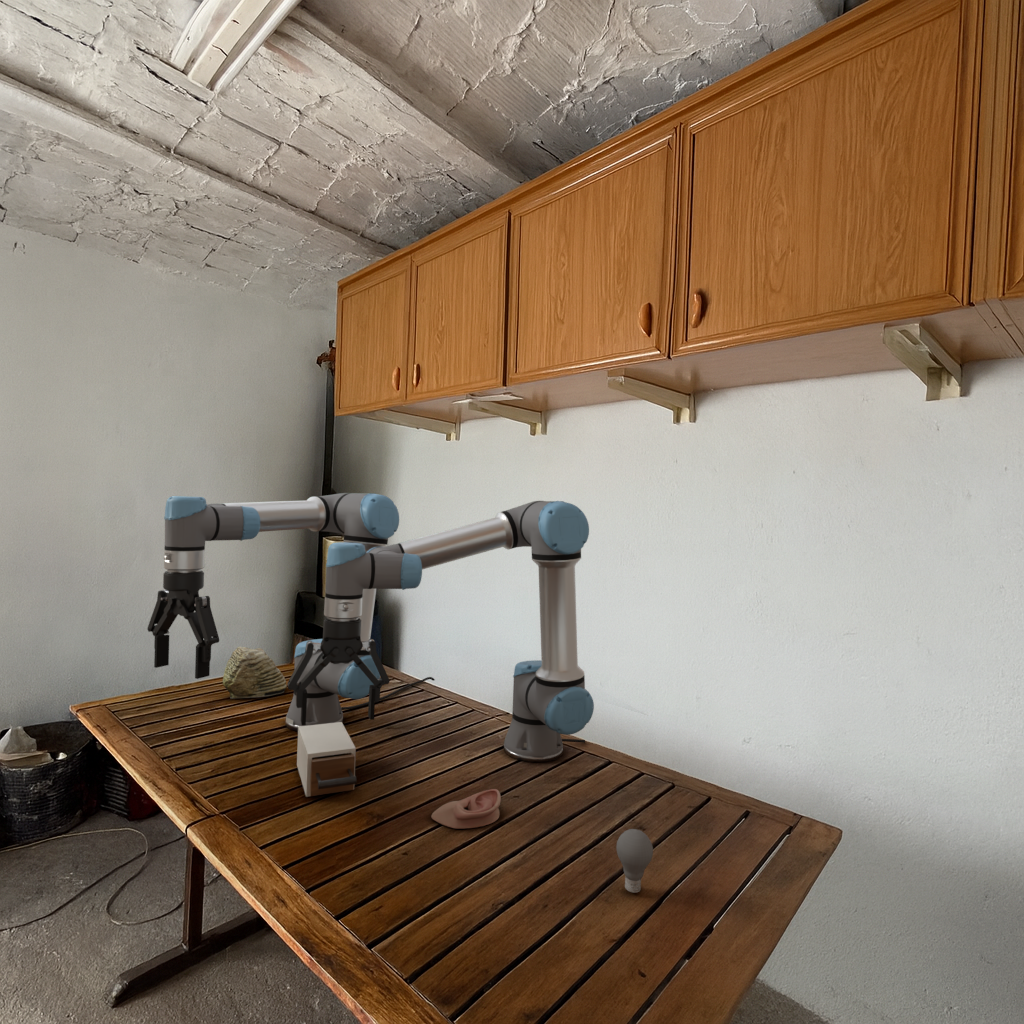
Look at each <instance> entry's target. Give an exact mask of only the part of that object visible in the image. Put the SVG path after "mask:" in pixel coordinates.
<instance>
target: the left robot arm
mask: <svg viewBox="0 0 1024 1024" xmlns="http://www.w3.org/2000/svg"><path fill="white" fill-rule="evenodd" d="M394 502H395V501H393V499H391V498H390V497H388V496H386V495H384V494H378V493H371V492H369V493H365V492H364V493H362V492H361V493H360V492H341V493H340V492H339V493H334V494H328V495H327V494H326V495H318V496H309V498H307V499H306V500H281V501H278V500H277V501H250V502H249V501H248V502H247V501H246V502H222V503H207V499H206V498H205V497H203V496H189V495H188V496H186V495H172V496H169V497H168V498H167V499H166V502H165V509H164V517H163V519H164V554H163V568H164V569H165V570H166V571H164V572H163V574H162V575H163V576H162V577H163V583H162V587H163V589H161V590H158V591H157V597H156V598H157V599H156V603H155V605H154V608H153V612H152V614H151V616H150V620H149V623H148V625H147V632H149V633H152V636H153V637H154V646H153V648H154V659H153V661H154V662H153V663H154V665H153V667H154V668H155V669H157V668H161V667H167V666H169V660H170V634H169V633H170V632H169V630H170V628H171V627H172V625H173V623H174V622H175V620H176V619H177V617H178V615H179V616H180V617H183V618H184V619H185V620H187V622H188V624H189V626H190V628H191V631H192V633H193V635H194V637H195V639H196V641H197V644H196V645H195V665H194V679H195V680H196V679H197V680H199V679H203V678H206V677H210V673H211V672H210V670H211V669H210V667H211V660H212V646H213V645H215V644H218V643H219V642H220V637H219V633H218V629H217V626H216V622H215V619H214V615H213V611H212V608H211V597H210V596H209V595H203V596H200V593H199V591H200V590H202V589H203V588H204V587H205V572H204V571H203V569H204V568H205V565H206V563H205V562H206V560H205V558H206V557H205V556H206V542H213V541H214V542H215V541H239V542H240V541H241V542H242V541H246V540H253V539H254V538H256V537H257V536H258V534H259V533H263V532H279V531H291V530H306V529H307V530H310V531H311V532H329V533H336V534H342V535H343V542H349V543H361V544H363V545H364V546H365V551H366V552H367V551H368V550H370V549H371V548H374V547H379V546H380V547H386V546H388V542H389V539H390V538H391V537H394V535H395V533H396V532H397V531H398V529H399V525H400V513H399V509H398V508H397V505H396V504H395V503H394ZM376 594H377V589H363V597H362V615H361V616H360V617H359V618H360V620H361V642H363V641H368V640H369V639H371V635H372V628H373V619H374V618H373V617H374V610H375V602H376V596H377V595H376ZM322 640H323V638H317V639H316V638H315V639H308V640H304V641H300V642H299V643H298V644H297V645H296V646H295V650H294V651H295V652H294V655H293V658H294V670H295V669H296V667H297V665H298V663H299V662H300V660H301V658H302V656H303V654H304V653H305V649H306V643H307V642H308V641H312V642H313V643H321V642H322ZM323 655H324V653H323V652H322V651H321V649H318V650H317V651H316V653H314V654H312V657H311V659H310V661H309V662H308V664H307V666H306V668H305V669H304V671H303V673H302V675H301V677H300V678H299V680H298V682H297V683H299V682H300V681H301V680H302V679H303V678H304V677H305V675H306V674H307V673H308V672H309V671H310V670H311V669H312V668H313V667H314V665H315V664H316V663H317V662H318V661H319V659H320V658H321V657H322V656H323ZM357 655H358V656H359V657H360V659H361V660H362V661H363V662H364V663H365V665H366V666H367V667H368V668H369V669H370V671H371V672H372V673H373V674H374V675H375V676H376V678H377V679H379V678H381V676H380V674H379V672H378V670H377V668H376V665H375V663H374V661H373V659H372V657H371V655H370V652H369V651H366V649H365V648H364V647H362V649H361V650H360V652H359V653H358V654H357ZM294 670H293V671H294ZM428 680H431V681H436V679H435V678H434V677H432V676H428V677H425V678H422V679H421V680H417V681H414V682H412V683H409V684H407V685H405V686H403V687H401V688H399V689H397V690H394V691H392V692H390V693H388V694H386V695H383V696H380V700H379V702H380V701H383V700H385V699H387V698H390V697H392V696H394V695H396V694H397V693H399V692H402V691H404V690H406V689H407V688H410V687H412V686H415V685H419V684H421V683H423V682H426V681H428ZM370 685H374V684H373V683H372V682H371V681H370V679H369V678H368V677H367V676H366V675H365V674H364V672H363V671H362V670H361V669H360V668H359V666H358V665H357V664H356V663H355V662H354V661H351V662H349V663H348V664H345V663H339V664H333V663H331V662H330V663H329V664H328V665H327V666H326V667H324V668H323V669H322V671H321V672H320V673H319V674H318V675H317V676H316V677H315V678H314V680H313V681H312V682H311V683H310V684H309V685H308V686H307V687H306V690H307V708H306V725H302V724H301V708H297V706H296V691H294V690H293V695H292V696H293V697H292V699H291V702H290V704H289V708H288V711H287V713H286V715H285V726H286V728H287V729H289V730H291V731H294V732H295V731H296V732H298V727H299V726H308V725H318V724H327V723H336V722H342V723H343V722H344V714H343V711H345V710H346V711H347V710H353V709H354V710H355V709H357V708H361V707H365V706H369V701H366V702H363V703H359V704H356V705H351V706H341V702H340V699H339V696H340V697H342V698H345V699H351V700H360V699H364V698H366V697H367V696H369V687H370Z"/></svg>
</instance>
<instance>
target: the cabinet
mask: <svg viewBox="0 0 1024 1024" xmlns="http://www.w3.org/2000/svg"><path fill="white" fill-rule="evenodd" d="M296 751H297V752H296V766H297V771H298V774H299V777H300V780H301V781H300V782H301V784H302V789H303V791H304V795H305V797H306V798H308V797H311V796H310V775H311V760H312V758H314V757H322V756H329V755H337V754H345V753H348V755H352V754H354V756H355V757H356V754H357V753H356V752H357V748H356V745H355V744H354V742H353V740H352V738H351V736H350V735H349V733H348V731H347V729H346V727H345V725H344V724H343V722H336V723H327V724H318V725H308V726H299V727H298V731H297V750H296ZM354 776H356V760H355V761H354ZM352 791H355V785H354V786H353V790H352ZM341 792H343V791H341ZM341 792H340V793H341ZM328 794H330V793H328ZM328 794H327V795H328ZM322 795H323V794H321V795H320V796H322ZM315 796H317V795H315ZM315 796H314V797H315Z"/></svg>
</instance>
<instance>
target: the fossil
mask: <svg viewBox="0 0 1024 1024" xmlns="http://www.w3.org/2000/svg"><path fill="white" fill-rule="evenodd" d="M222 676H223V677H222V685H223V687H224V688H225V690H226V691H228V693H229V698H230V699H250V698H264V697H271V696H275V695H281V694H284V693H285V691H286V689H287V688H288V685H287V680H286V678H285V676H284V674H283V673H282V672H281V669H279V668H278V667H277V665H276V663H275V662H274V660H273V659H272V658H271V657H270V656H269V655H268V654H267V653H266V652H265V650H264V649H263V648H260V647H258V648H251V647H247V646H246V647H245V646H238V647H237V648H236V649H235V650H233V651H232V653H231V656H230V657H229V659H228V660H227V663H226V666H225V668H224V671H223V675H222Z"/></svg>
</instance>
